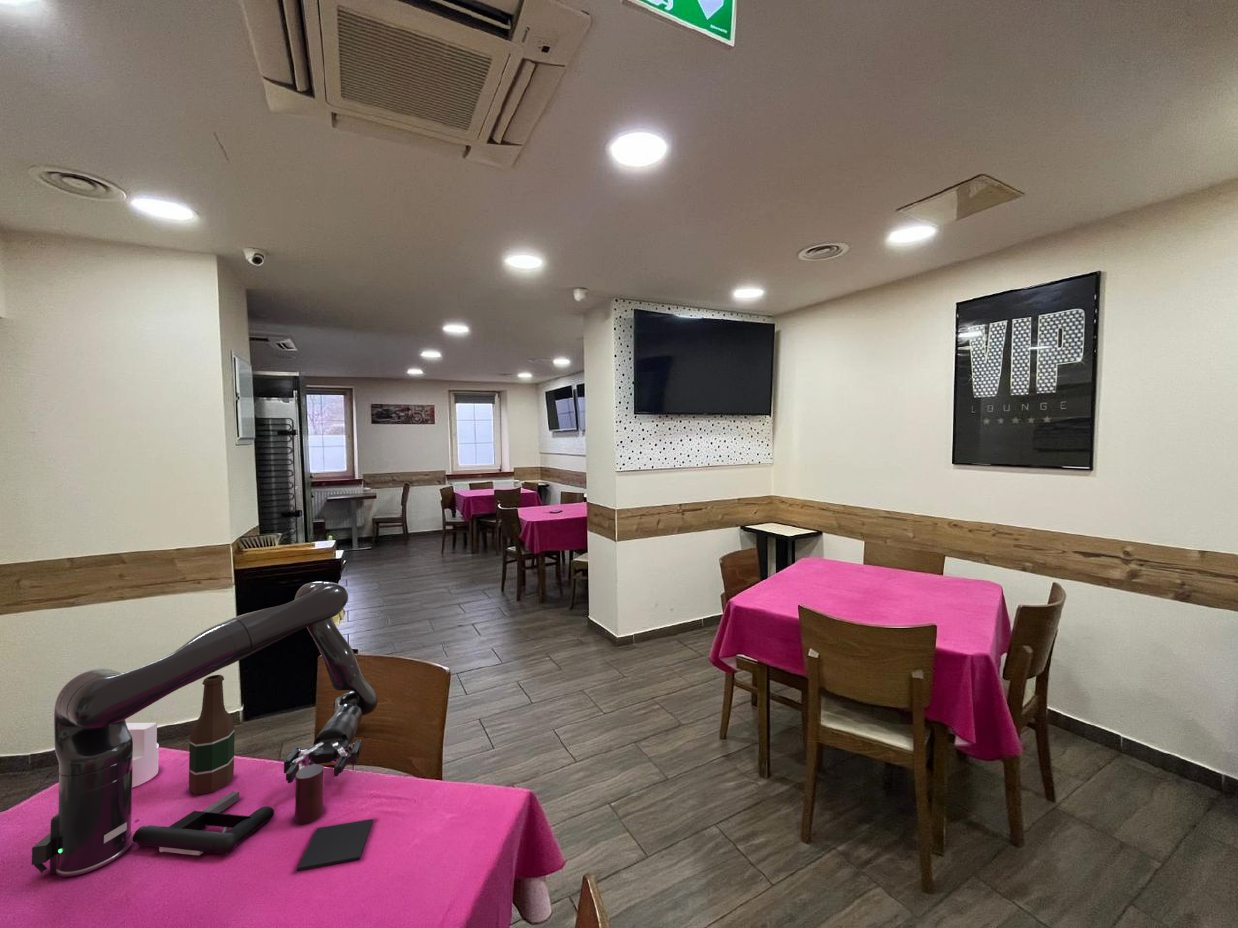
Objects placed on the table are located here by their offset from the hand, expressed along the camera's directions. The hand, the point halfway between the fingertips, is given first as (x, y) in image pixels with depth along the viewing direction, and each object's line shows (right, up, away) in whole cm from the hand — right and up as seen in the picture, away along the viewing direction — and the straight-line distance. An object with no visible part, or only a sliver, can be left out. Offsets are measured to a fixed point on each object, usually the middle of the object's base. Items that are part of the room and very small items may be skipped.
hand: (312, 775), depth 101 cm
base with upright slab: (-48, -8, +10) cm, 50 cm away
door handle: (-16, -7, -5) cm, 18 cm away
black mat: (+11, -7, -10) cm, 16 cm away
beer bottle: (-28, -7, +8) cm, 30 cm away
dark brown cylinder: (+1, -7, -2) cm, 7 cm away
